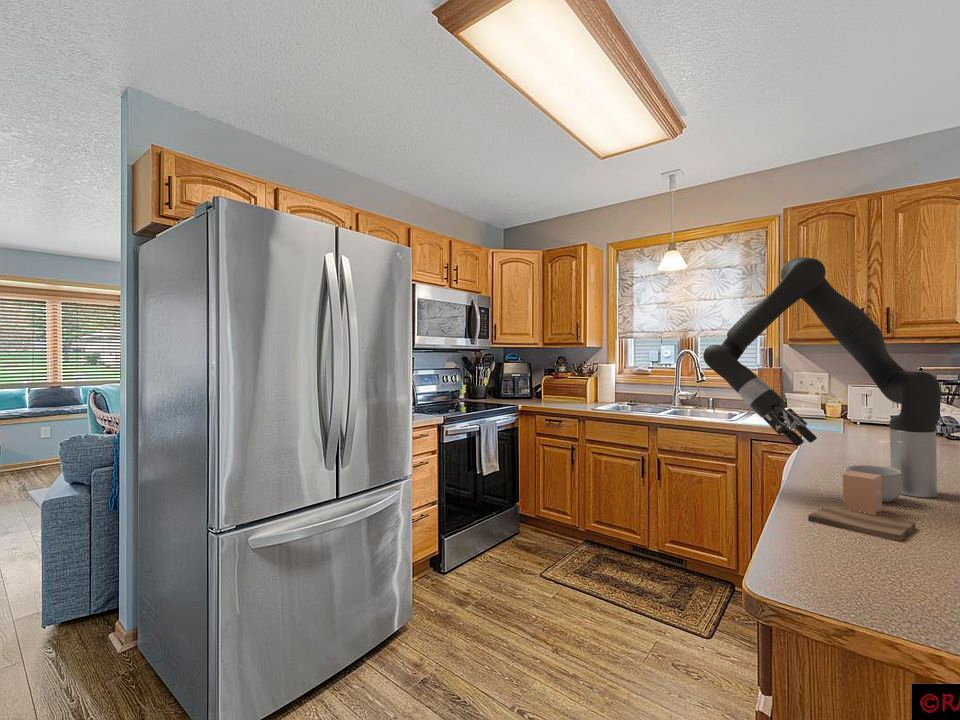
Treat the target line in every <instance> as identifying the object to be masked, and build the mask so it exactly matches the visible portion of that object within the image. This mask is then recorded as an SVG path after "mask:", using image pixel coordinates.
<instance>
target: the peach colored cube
mask: <svg viewBox="0 0 960 720" xmlns="http://www.w3.org/2000/svg"><path fill="white" fill-rule="evenodd" d="M842 501H843V503H842V504H843V505H842V508H844V509H850V510H855V511H860V512H865V513H870V514H875V515H877V514H878V513H880V512H881V511H883V502H882V481H881V475H877V474H870V473H863V472H856V471H849V472H847V471H846V472H844V473H843V474H842ZM880 510H881V511H880ZM879 511H880V512H879ZM877 512H878V513H877ZM876 513H877V514H876Z"/></svg>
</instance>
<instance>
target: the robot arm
mask: <svg viewBox="0 0 960 720" xmlns="http://www.w3.org/2000/svg"><path fill="white" fill-rule="evenodd" d="M826 271H827V270H826V267H825V265H824V263H823V262H822V261H821V260H819V259H816V258H813V257H802V256H801V257H795V258H793V259H790V260H788V261H787V262H786V263H785V264H784V265H783V266H782V269H781V271H780V278H781V281H780V282H779V283H778V284H777V286H776V287H775V288H774V289H773V290H772V291H771V293H769V294H768V295H767V296H766V297H765V298H764V299H763V300H762V301H760V302H759V303H758V304H756V305H755V306H754V307H752V308H751V309H749V311H747V312H746V313H745V314H743V316H742V317H740V318H739V320H738V321H736V323H734V325H733V326H731V328H729V330H728V331H727V333H726V337H727V338H726V339H725V340H724V341H723V343H721V344H711V345H709V346H707V347H706V348H705V349H704V352H703V355H702V356H703V357H702V358H703V360H704V362H705V364H706V365H707V366H708V367H709V369H711V370H712V371H713V372H714V373H716V374H717V375H718V376H719V377H721V378H722V379H724V381H726V382H727V383H728V385H729V386H730V387H731V388H732V389H733V390H734V391H735V392H736V393H737V394H738V395H739V396H740V397H741V399H742V400H743V401H744V402H745V403H746V404H747V405H748V406H749V407H750V408H751V409H752V410H753V411H754V413H756V414H757V415H758V416H759V417H760V418H762V419H763V420H764V422H766V423H767V425H769V426H770V427H771V428H772V429H773V431H775V432H776V433H777V434H778V435H783V436H784V437H785V436H786V438H787V439H789V441H790V442H792V443H793V445H794V446H796V447H799V446H801V445H803V444H804V443H805V441H804V439H805V440H806V441H807V442H808V443H814V442H815V441H816V440H817V439H818V437H817V435H815V434H814V433H813V432H812V431H811V430H810V429H809V428H808V423H807V421H805V420H804V419H803V418H802V417H801V416H800V415H799V414H798V413H796V412H795V411H794V410H793V409H792V408H788V409H785V408H784V407H783V405H784V404H785V399H784V398H782V397H781V395H779V394H778V393H777V392H776V391H775V390H774V389H773V388H772V387H771V386H769V384H767V382H765V381H764V380H762V378H759V377H758V375H756V373H754V372H753V371H752V370H751V369H750V368H748V367H747V366H745V365H744V364H742V363H741V362H740V361H739V359H740V357H741V356H742V355H743V354H744V352H745V350H746V349H747V348H748V347H749V346H750V345H751V344H752V343H753V342H754V341H755V340H757V338H759V336H760V335H761V334H762V333H763V332H764V331H765V330H766V329H768V327H769V326H770V325H772V323H774V322H775V321H776V320H777V319H778V318H779V317H780V316H781V315H782V314H783V313H784V312H786V311H787V309H789V308H791V307H792V306H793V305H794V304H795V303H796V302H798V301H799V300H802V301H804V302H805V304H807V306H809V308H811V310H812V311H813V313H814V314H815V315H816V317H817V318H818V319H819V321H820V322H821V323H822V324H823V326H824V328H825V329H827V331H828V332H829V333H830V334H831V336H832V337H834V338H835V341H837V342H838V343H839V344H840V345H841V346H842V347H843V348H844V350H846V351H847V352H848V353H849V354H850V355H851V356H852V357H853V359H854V360H855V361H856V362H857V363H858V364H859V365H860V366H861V367H862V368H863V369H864V370H865V372H866V373H867V374H868V376H869V377H870V378H871V379H872V381H873V382H874V384H875V385H876V386H877V388H878V389H879V391H880V392H881V393H882V395H884V396H885V398H886V399H888V400H890V401H891V402H893V403H895V404H900V405H901V406H900V412H899V414H898V415H897V416H895V417H891V418H890V419H889V444H890V445H889V449H890V450H889V451H890V452H889V453H890V456H889V457H890V468H894V469H897V470H899V471H901V494H900V495H903V496H909V497H910V496H911V497H915V498H916V497H918V498H937V497H938V462H937V461H938V459H937V458H938V456H937V425H938V423H939V422H940V417H941V404H942V403H941V402H942V399H941V398H942V394H941V393H942V392H941V385H940V382H939V380H938V379H937V378H936V377H935V375H933V374H931V373H929V372H925V371H912V370H911V371H907V370H905V369H904V368H903V367H901V366H900V364H898V363H897V361H895V359H893V357H892V356H891V355H890V354H889V352H888V350H887V348H886V343H885V339H884V335H883V333H882V331H881V329H880V328H879V326H878V325H877V324H876V322H874V321H873V320H872V319H871V318H870V316H868V314H867V313H865V312H864V310H862V309H861V308H859V306H857V305H856V304H855V303H853V301H850V299H848V298H846V297H845V296H843V294H841V293H840V292H838V291H837V290H836V289H835V288H834V287H833V286H832V284H830V283H829V281H828V280H827V279H826V278H825V277H826V273H827V272H826ZM793 429H794V430H793ZM797 432H798V433H799V434H800V435H801V436H802V437H801V436H800V435H799V434H798V433H797ZM803 438H804V439H803Z"/></svg>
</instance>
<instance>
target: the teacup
mask: <svg viewBox="0 0 960 720" xmlns="http://www.w3.org/2000/svg"><path fill="white" fill-rule="evenodd" d="M849 471H856V472H863V473H870V474H877V475H881V481H882V503H888V502H892V501H894V500H895V499H898V498H899V497H900V496H901V495H902V494H901V471H899V470H897V469H894V468H891V466H890V467H889V466H884V465H877V464H876V465H875V464H854V463H852V464H848V465H847V467H846V473H847V472H849Z"/></svg>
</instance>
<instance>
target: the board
mask: <svg viewBox="0 0 960 720" xmlns="http://www.w3.org/2000/svg"><path fill="white" fill-rule="evenodd" d="M807 518H808V519H807V520H808V521H810V522H815V523H817V522H818V524H822V523H823V524H822V525H826V526H831V527H836V528H839V529H843V528H845V530H848V529H850V530H849V531H852V530H854V531H853V532H856V531H858V532H857V533H861V532H862V534H865V533H866V535H869V534H870V536H874V537H878V536H879V538H883V539H888V540H891V541H898V542H901V541H902V540H903V539H904V538H906V537H907V536H908V535H909V534H910V532H911V531H912V532H913V531H914V530H915V529H916V522H914V521H908V520H903V519H898V518H894V517H889V516H883V515H878V514H875V515H874V514H869V513H864V512H859V511H854V510H849V509H844V508H843V507H838V506H834V505H829V504H828V505H826V506H824V507H821V508H819V509H818V510H816V511H814V512H812V513H810V514H808V516H807ZM912 532H911V533H912Z"/></svg>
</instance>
